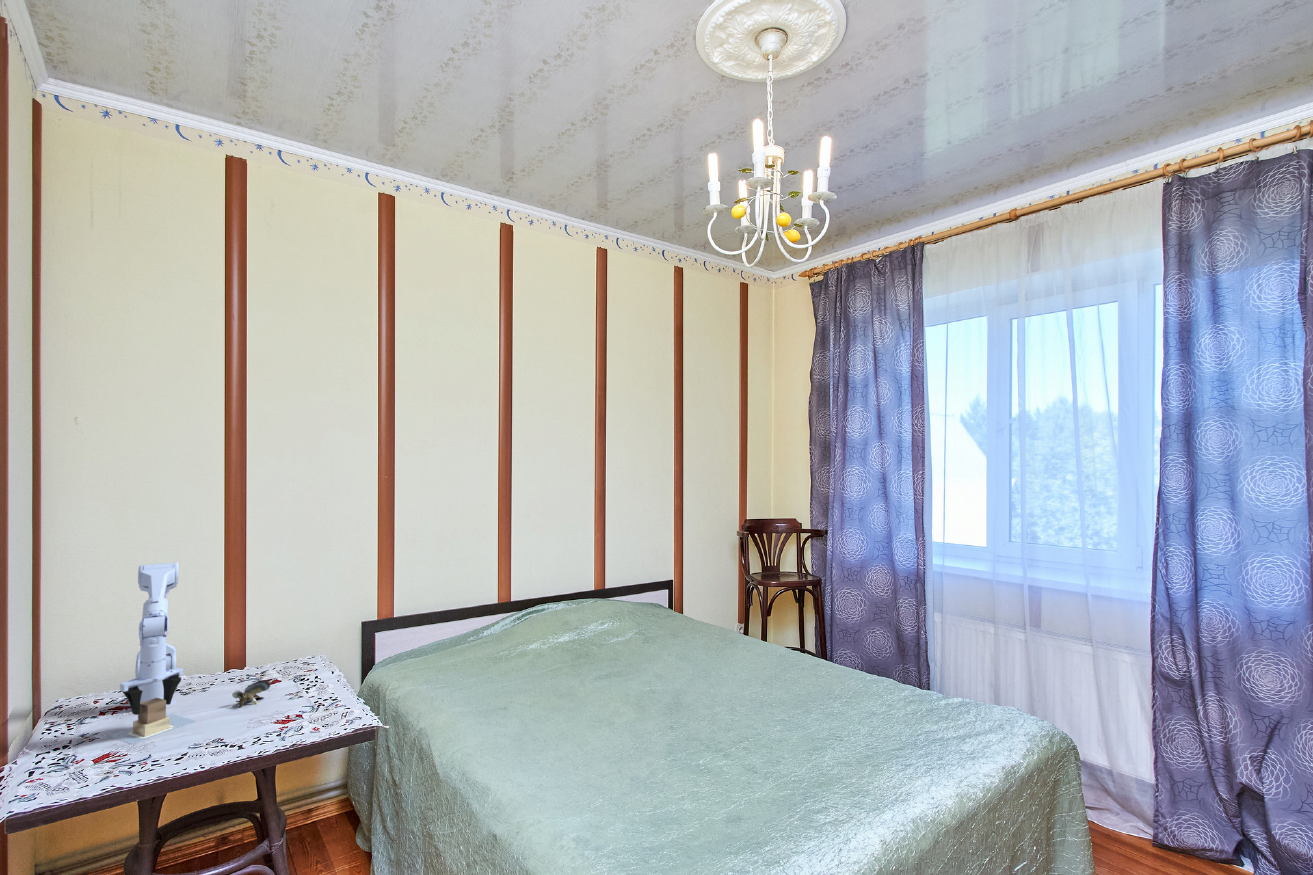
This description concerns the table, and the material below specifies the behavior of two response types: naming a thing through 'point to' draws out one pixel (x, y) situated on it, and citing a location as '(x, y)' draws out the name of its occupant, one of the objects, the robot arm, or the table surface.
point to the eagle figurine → (251, 692)
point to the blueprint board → (134, 738)
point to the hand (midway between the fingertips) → (151, 708)
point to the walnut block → (152, 710)
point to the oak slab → (151, 727)
